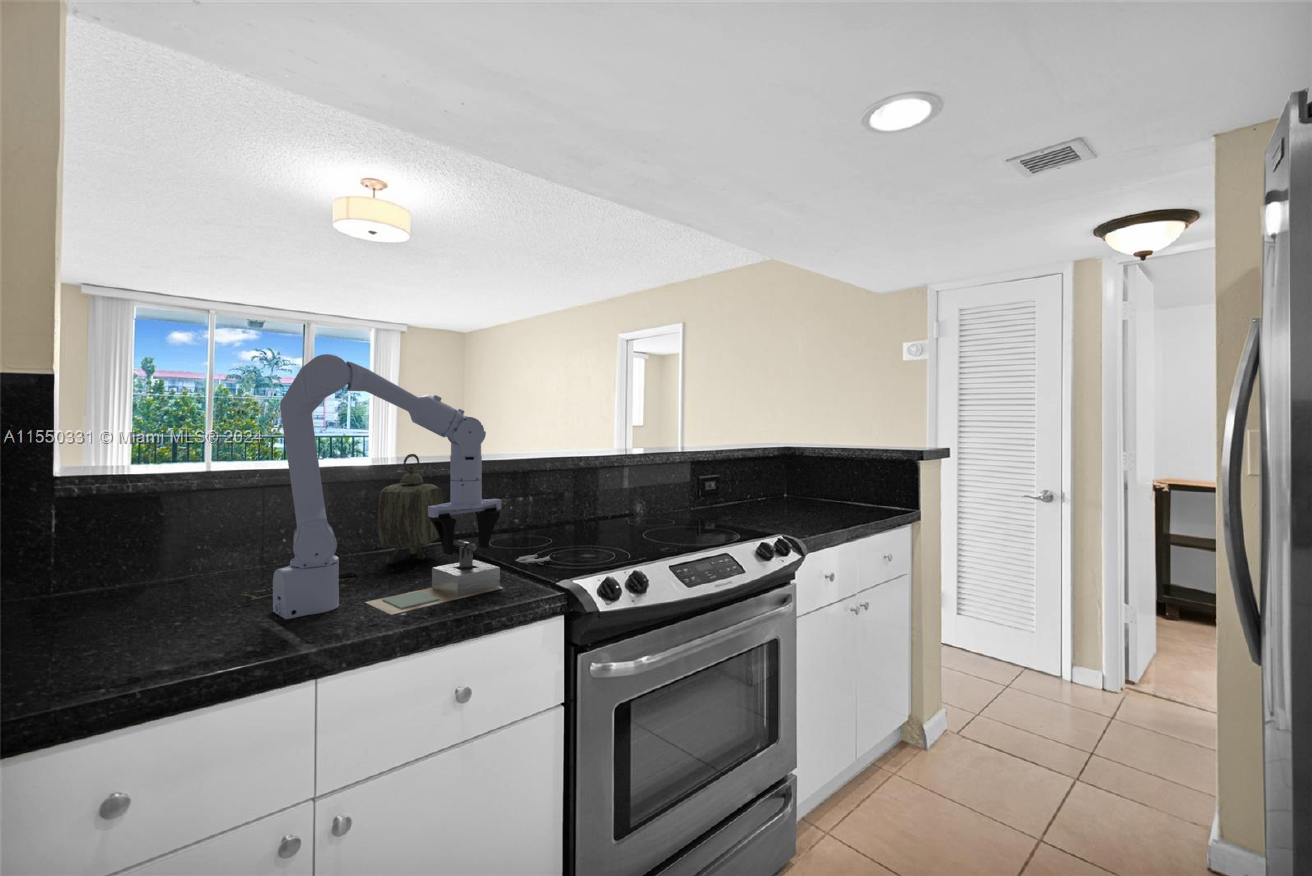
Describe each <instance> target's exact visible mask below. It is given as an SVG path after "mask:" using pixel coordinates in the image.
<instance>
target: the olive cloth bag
mask: <svg viewBox="0 0 1312 876" xmlns="http://www.w3.org/2000/svg"><path fill="white" fill-rule="evenodd" d="M409 458H415V459H416V462H417V463H416V466H414V465H409V467H408V468H407V465H406V464H407V461H408V460H409ZM419 466H420V459H419V457H418V455H417V454H415V453H410V454H407V455H406V456H405V457H404V460H403V469H404V470H405V471H406V472H408V473H405V474H404V475H402V476H401V478H400V480H399V483H393V484H391V485H388V486H385V487H384V488H383V489H382V490H381V491H380V494H379V498H378V511H377V513H378V514H377V519H378V520H377V521H378V522H377V525H378V538H379V543H380V546H381V547H384V548H394V551H393V553H392V555H391V556H389V557H387V559H386V564H388V565H392V564H394V562H395V559H394V558H395V556H396V555H397V554H398V552H399V551H401V549H403V548H404V549H406V548H408V549H409V548H410V549H409V553H410V554H411V555H415V554H416V553H417V551H418V554H417V559H418V560H420V561H423V560H424V559H425V558H426V556H425V555H426V554H425V553H424V552H422V547H424V546H427V545H428V544H430V543H432V542H434V541H435V540H437V539H440V537H439V535H438V532H437V530H436V528H435V527H434V525H433V523H432V522H431V517H428V506H434V505H439V504H444V499H443V498H444V495H443V489H441V488H440V487H439V486H437V485H435V484H432V483H424V479H423V477H422V476H421V475H420V474H419V473H415V472H416V471H417V470H418V468H419Z"/></svg>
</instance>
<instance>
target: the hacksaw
mask: <svg viewBox="0 0 1312 876" xmlns="http://www.w3.org/2000/svg"><path fill="white" fill-rule="evenodd" d="M358 574H359V572H357V571H356V570H353V569H352V570H351V569H350V570H347V571H344V572H339V584H341V583H342V584H345V583H347V581H348V583H350V582H353V581H355V578H354V577H356V575H358ZM353 576H354V577H353ZM352 577H353V578H352ZM269 588H270V589H271V588H272V589H273V587H269ZM265 589H266V588H265ZM265 589H259V590H254V591H252V592H253V593H260V592H261V593H262V592H265V591H267V590H265ZM267 589H268V588H267ZM270 589H268V591H271V590H270ZM268 591H267V592H268ZM244 593H246V594H243V593H240V594H241V595H240V596H242V597H247V598H250V599H249V600H248V601H249V602H252V601H257V600H259V601H260V600H264V599H270V597H271V598H273V593H271V594H266V595H261V596H256V595H250V594H248V592H244ZM245 602H247V600H245ZM237 604H239V602H236V603H234V604H232V605H231V607H232V606H234V607H233V608H248V607H251V605H250V604H247V605H240V606H238V605H237Z"/></svg>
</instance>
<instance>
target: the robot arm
mask: <svg viewBox="0 0 1312 876" xmlns="http://www.w3.org/2000/svg"><path fill="white" fill-rule="evenodd" d="M346 386H347V387H346ZM345 387H346V391H347V392H365V393H368V394H370V395H372V396H375V397H377V398H379V399H381V400H383V401H385V402H387V403H390V404H391V405H394V406H396V407H398V408H400V409H402V410H404V411H406V412H408V414H409V416H410V420H411V422H412V423H414V424H416V425H418V426H420V427H421V428H424V429H426V430H428V431H429V432H432V433H434V434H435V435H437V436H439V437H442V438H447V439H448V441H449V442H450V456H449V458H450V460H449V461H450V462H449V468H450V471H449V473H450V480H449V481H450V485H449V486H450V494H449V495H450V496H449V497H450V498H449V499H450V502H446V503H444V502H443V504H439V505H434V506H428V517H431V522H432V523H433V525H434V527H435V528H436V530H437V532H438V535H439V539H440V543H441V546H442V553H443V555H444V554H445V555H448V556H451V555H453V553H454V534H455V527H456V523H457V519H456V518H452V516H453V515H461V514H466V513H475V517H476V520H477V521H476V522H477V527H478V528H477V531H478V547H479V548H483V549H489V545H490V541H491V538H492V534H493V531H494V528H495V526H496V524H497V522H498V520H499V518H500V517H501V511H500V510H501V509H502V499H500V498H488V499H486V498H485V499H483V497H482V496H483V495H482V494H483V490H482V489H483V486H482V478H483V477H482V476H483V475H482V474H483V473H482V472H483V471H482V470H483V468H482V467H483V463H482V462H483V461H482V459H483V458H482V443H483V442H484V440H485V438H486V436H487V431H485V428H484V425H483V424H482V422H481V421H480V420H479V419H477V418H475V417H473V416H467V415H464V414H465V410H463V409H461V408H458V409H456V408H454V407H452V406H451V405H449V404H446V403H444V402H443V401H442V397H441V396H439V395H436V394H434V395H433V396H431V395H430V394H424V395H420V396H417V395H415V394H413V393H412V392H409V391H407V390H406V389H405V388H403V387H400V386H399V385H397V384H395V383H394V382H392V381H390V380H388V379H387V378H385V377H383V376H381V375H379V374H378V373H376V372H374V371H372V370H371V369H368V368H366V367H364V366H362V365H359V364H357V363H354V362H352V361H349V360H347V361H344V359H343V358H342V357H339V356H338V355H336V354H331V353H323V354H319V355H316V356H315V357H313V358H312V359H311V360H310V361H308V362H307V363H306V364H304V365H303V366H301V368H300V369H299V371H298V373H297V374H296V376H295V377H294V380H293V381H292V383H290V385H289V387H288V388H287V390H286V392H285V394H284V396H283V397H282V399H281V400H280V404H279V408H280V409H279V410H280V416H281V423H282V431H283V437H284V445H285V450H286V457H287V458H286V459H287V465H288V471H289V476H290V477H289V479H290V485H291V491H292V499H293V506H294V507H293V508H294V514H295V515H294V516H295V520H296V528H295V531H294V533H293V538H292V539H293V540H292V541H293V546H292V549H293V555H294V557H293V558H291V559H290V561H289V562H290V563H289V565H288V566H285V567H281V568H277V569H276V570H275V571H274V573H273V575H272V576H273V578H272V588H273V590H272V594H273V597H272V612H274V613H275V614H276V615H278V616H279V617H281V618H283V619H284V620H289V619H294V618H298V617H304V616H308V615H315V614H321V613H327V612H331V611H333V610H336V609H337V608H338V607H339V605H340V595H339V594H340V588H339V587H340V583H339V579H340V578H339V573H340V572H339V571H340V567H339V563H340V561H339V560H340V559H339V557H338V556H337V555H335V554H336V551H337V548H338V542H337V539H336V536H335V531H334V529H333V527H332V526H331V525H330V524H329V523H328V519H327V518H328V517H327V513H326V506H325V500H324V492H323V484H322V477H321V470H320V461H319V455H318V449H317V442H316V434H315V428H314V426H315V425H314V420H313V413H314V411H315V410H316V409H317V408H318V407H319V406H320V405H321V404H322V403H323V402H324V401H325V399H326V398H328V397H330V396H331V395H334V394H336V393H337V392H339V391H341V390H342V389H344V388H345ZM451 515H452V516H451ZM293 612H295V613H293Z"/></svg>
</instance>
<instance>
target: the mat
mask: <svg viewBox="0 0 1312 876" xmlns="http://www.w3.org/2000/svg"><path fill="white" fill-rule="evenodd" d="M417 591H418V592H414V591H412V592H413V593H409V592H408V593H409V594H405V593H403V594H404V595H400V594H398V595H399V596H395V595H394V596H395V597H391V596H389V597H390V598H386V597H385V598H386V599H382V601H384V602H386V603H388V604H391V605H393V606H395V607H397V608H400V609H405V608H409V607H413V606H418V605H422V604H426V603H430V602H435V601H439V598H436V597H434V596H431V595H429V594H426V593H424V592H421V591H419V590H417Z"/></svg>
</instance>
